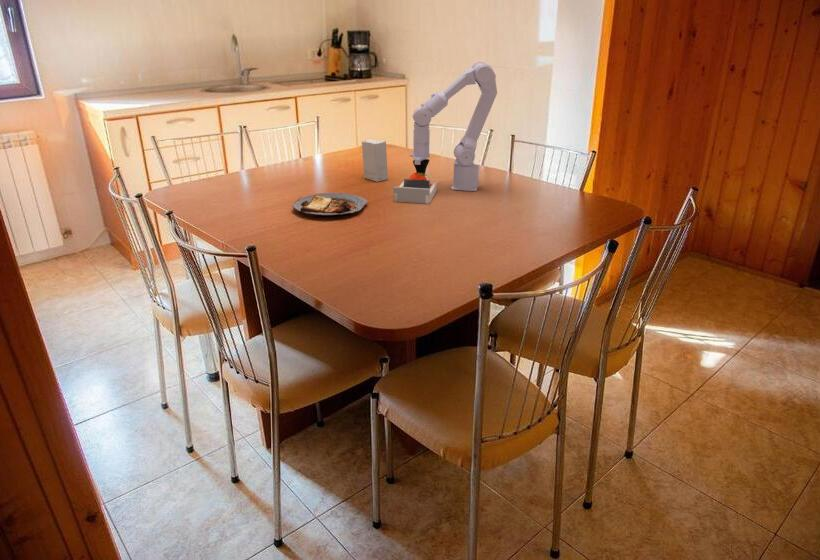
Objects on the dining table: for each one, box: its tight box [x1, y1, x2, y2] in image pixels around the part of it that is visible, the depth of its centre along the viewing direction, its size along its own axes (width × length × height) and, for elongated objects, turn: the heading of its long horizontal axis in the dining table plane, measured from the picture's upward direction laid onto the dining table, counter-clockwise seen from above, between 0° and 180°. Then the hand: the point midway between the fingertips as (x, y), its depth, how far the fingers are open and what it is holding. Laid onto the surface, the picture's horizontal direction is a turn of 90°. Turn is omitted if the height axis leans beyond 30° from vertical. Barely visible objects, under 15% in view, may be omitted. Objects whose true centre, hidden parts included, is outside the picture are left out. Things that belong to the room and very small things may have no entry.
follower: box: [403, 178, 431, 189], centre depth 209 cm, size 9×1×5 cm, turn 78°
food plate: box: [291, 192, 368, 217], centre depth 195 cm, size 25×23×4 cm
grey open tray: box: [393, 180, 438, 205], centre depth 208 cm, size 12×16×5 cm
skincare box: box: [361, 138, 389, 182], centre depth 227 cm, size 8×6×15 cm
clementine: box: [408, 172, 428, 180], centre depth 213 cm, size 8×7×7 cm
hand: (420, 179), depth 216 cm, fingers closed
